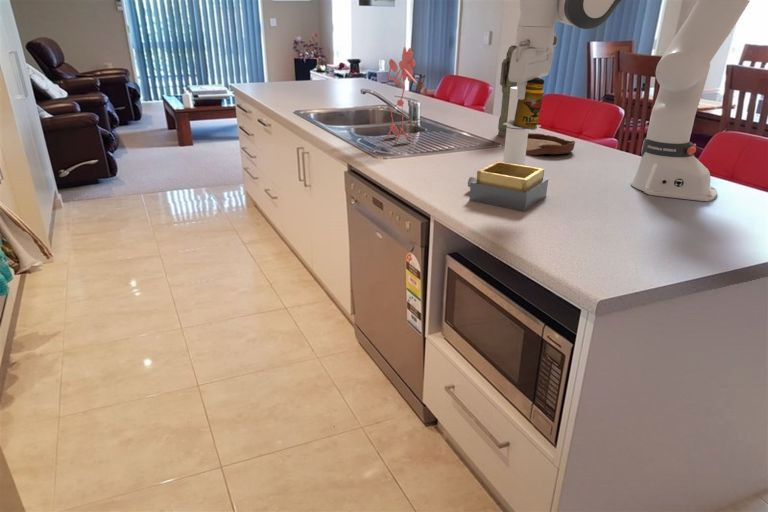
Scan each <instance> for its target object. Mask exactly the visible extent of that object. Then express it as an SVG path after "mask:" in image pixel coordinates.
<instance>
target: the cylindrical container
mask: <svg viewBox="0 0 768 512" xmlns="http://www.w3.org/2000/svg"><path fill="white" fill-rule="evenodd" d="M517 96H518V90H517V87H511V88H510V98H509V108H508V118H507V122H508V121H510V120H514V119H515V113H516V108H517V102H518V98H517ZM529 131H530V129H524V128H519V127H514V126H510V125H507V129H506V137H505V141H504V149H503V150H504V151H503V161H502V162H505V163H511V164H517V165H523V166H526V165H525V164H526V156H527V154H526V148H527V139H528V133H529Z"/></svg>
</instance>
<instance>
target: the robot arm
mask: <svg viewBox="0 0 768 512" xmlns="http://www.w3.org/2000/svg"><path fill="white" fill-rule="evenodd" d="M621 1H622V0H520V2H519V10H520V11H519V12H520V15H519V18H518V22H517V26H516V37H515V44H514V45H515V46H517V48H516V49H514V51H513V53H512V57H511V62H510V68H509V75H508V76H509V81H511V82H517V90H518V96H517V98H518V99H521V100H523V99H525V98H526V94H527V92H526V85H527V81H529V80H532V79H536V78H540V79H542V77H547V76H549V73H550V72H551V69H552V68H551V67H552V63H553V59H554V53H555V47H556V46H557V43H558V36H557V35H556V33H555V29H556V24H557V22H560V23H562V24H564V25H569V26H573V27H574V26H575V27H577V28H579V29H582V30H583V29H584V30H589V29H590V30H592V29H595V28H598V27H599V26H601V25H602V24H603V23H605V22H606V21H607V20H608V19H609V17H610V16H611V15H612V13H613V12H614V10H615V9H616V7H618V5H619V4H621ZM750 1H751V0H696V2H695V4H694V5H693V7H692V9H691V10H690V13H689V15H688V16H687V17H686V19H685V21H684V23H683V24H682V25H681V27H680V28H679V30H678V31H677V33H676V34H675V36H674V37H673V39H672V40H671V42H670V43H669V45H668V47H667V49H666V50H665V52H664V53H663V54H662V56H661V58H660V60H659V61H658V62H657V65H656V69H655V79H656V81H657V83H658V85H659V89H658V93H657V96H656V99H655V103H654V105H653V106H652V109H651V114H650V117H649V118H650V119H649V123H648V128H647V132H646V137H644V140H643V142H642V147H641V153H640V154H641V155H640V156H641V159H640V161H639V165H638V166H637V169H636V172H635V174H634V177H633V178H632V181H631V182H630V185H631V186H632V187H634V188H635V189H637V190H640V191H641V192H642V191H643V192H644V193H645V194H647V195H650V196H657V197H665V198H673V199H674V198H675V199H683V200H691V201H697V202H699V201H700V202H709V201H713V200H714V199H715V198H716V197H717V195H718V194H717V193H718V190H717V189H716V187H713V186H711V173H710V171H709V169H708V168H707V167H706V166H705V165H704V164H703V163H702V162H701V161H700V160H699V159H698V158H697V157H696V156H695V153H696V152H697V144H696V143H693V142H692V141H690V139H691V135H692V131H693V127H694V122H695V118H696V114H697V111H698V108H699V105H700V102H701V98H702V96H703V92H704V89H705V85H706V82H707V79H708V75H709V71H710V68H711V62H712V60H713V59H714V57H715V56H716V54H717V53H718V51H719V50H720V48H721V47H722V45H723V44H724V42H725V41H726V39H727V38H728V37H729V36H730V34H731V32H732V31H733V29H734V28H735V26H736V25H737V23H738V22H739V20H740V18H741V16H742V14H743V13H744V11H745V10H746V8H747V7H748V5H749V3H750Z"/></svg>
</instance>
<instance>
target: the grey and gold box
mask: <svg viewBox="0 0 768 512" xmlns="http://www.w3.org/2000/svg"><path fill="white" fill-rule="evenodd" d="M544 174H545V168H542V167H535V166H530V165H529V166H528V165H524V166H523V165H517V164H511V163H505V162H503V161H498V160H497V161H495V162H492V163H491V164H489V165H487V166H485V167H483V168H481V169H479V170H477V172H476V177H474V176H469V178H468V180H467V187H468V188H469V198H468V199H469V201H472V202H477V203H480V204H481V203H482V204H487V205H490V206H495V207H500V208H505V209H510V210H515V211H519V212H527V210H529V209H530V208H532V207H533V206H534V205H536V204H537V203H538V202H540V201H541V200H543V199H544V198H546V197H547V192H548V185H549V178H546V177H544Z"/></svg>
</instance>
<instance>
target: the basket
mask: <svg viewBox="0 0 768 512" xmlns="http://www.w3.org/2000/svg"><path fill="white" fill-rule="evenodd" d="M575 144H576V141H575V140H567V139H564V138H560V137H557V136H555V135H549V134H544V133H543V134H542V133H535V132H534V133H529V132H528V139H527V148H526V155H528V156H539V155H560V154H562V155H563V154H569V153H571V152H572V151H573V150H574V148H575Z"/></svg>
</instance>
